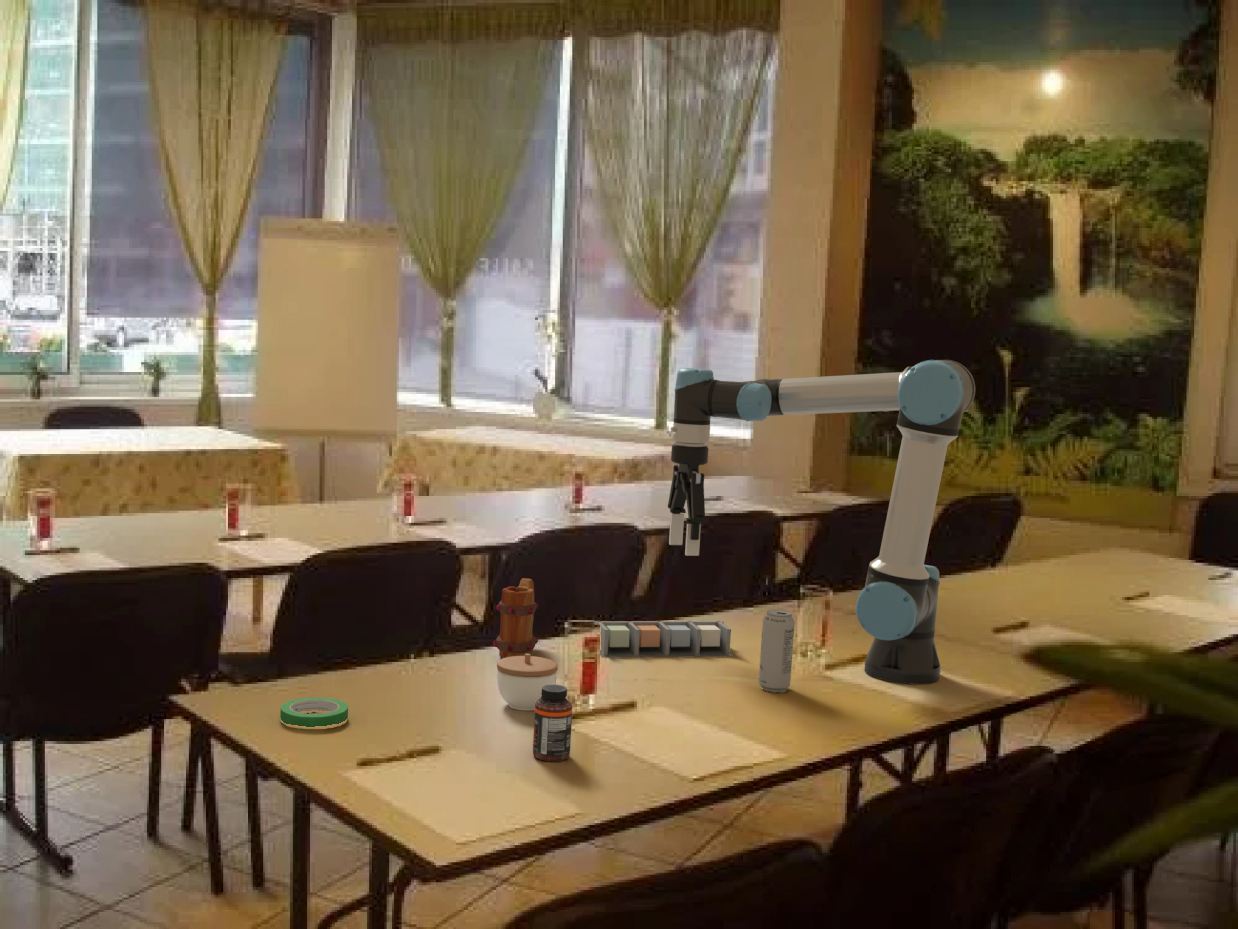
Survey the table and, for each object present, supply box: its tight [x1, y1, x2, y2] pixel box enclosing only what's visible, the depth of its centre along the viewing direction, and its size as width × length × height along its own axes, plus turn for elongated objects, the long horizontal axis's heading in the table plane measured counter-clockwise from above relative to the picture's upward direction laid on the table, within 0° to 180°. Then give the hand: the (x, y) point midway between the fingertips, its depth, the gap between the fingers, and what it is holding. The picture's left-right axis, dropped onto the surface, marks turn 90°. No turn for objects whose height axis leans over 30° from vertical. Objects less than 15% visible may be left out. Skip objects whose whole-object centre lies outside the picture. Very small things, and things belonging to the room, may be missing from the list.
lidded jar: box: [496, 653, 558, 712], centre depth 253 cm, size 11×11×9 cm
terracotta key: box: [637, 625, 660, 647], centre depth 294 cm, size 4×4×4 cm
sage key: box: [606, 626, 630, 647], centre depth 292 cm, size 4×4×4 cm
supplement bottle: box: [532, 684, 573, 762], centre depth 226 cm, size 6×6×11 cm
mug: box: [492, 577, 539, 659], centre depth 288 cm, size 15×8×15 cm, turn 168°
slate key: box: [667, 625, 691, 647], centre depth 296 cm, size 4×4×4 cm
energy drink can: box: [758, 609, 795, 693], centre depth 273 cm, size 6×6×15 cm
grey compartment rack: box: [593, 620, 735, 658], centre depth 295 cm, size 10×28×6 cm, turn 104°
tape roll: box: [279, 696, 349, 727], centre depth 239 cm, size 11×11×3 cm
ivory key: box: [697, 625, 721, 646], centre depth 297 cm, size 4×4×4 cm
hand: (683, 549), depth 294 cm, fingers open, 11 cm apart
